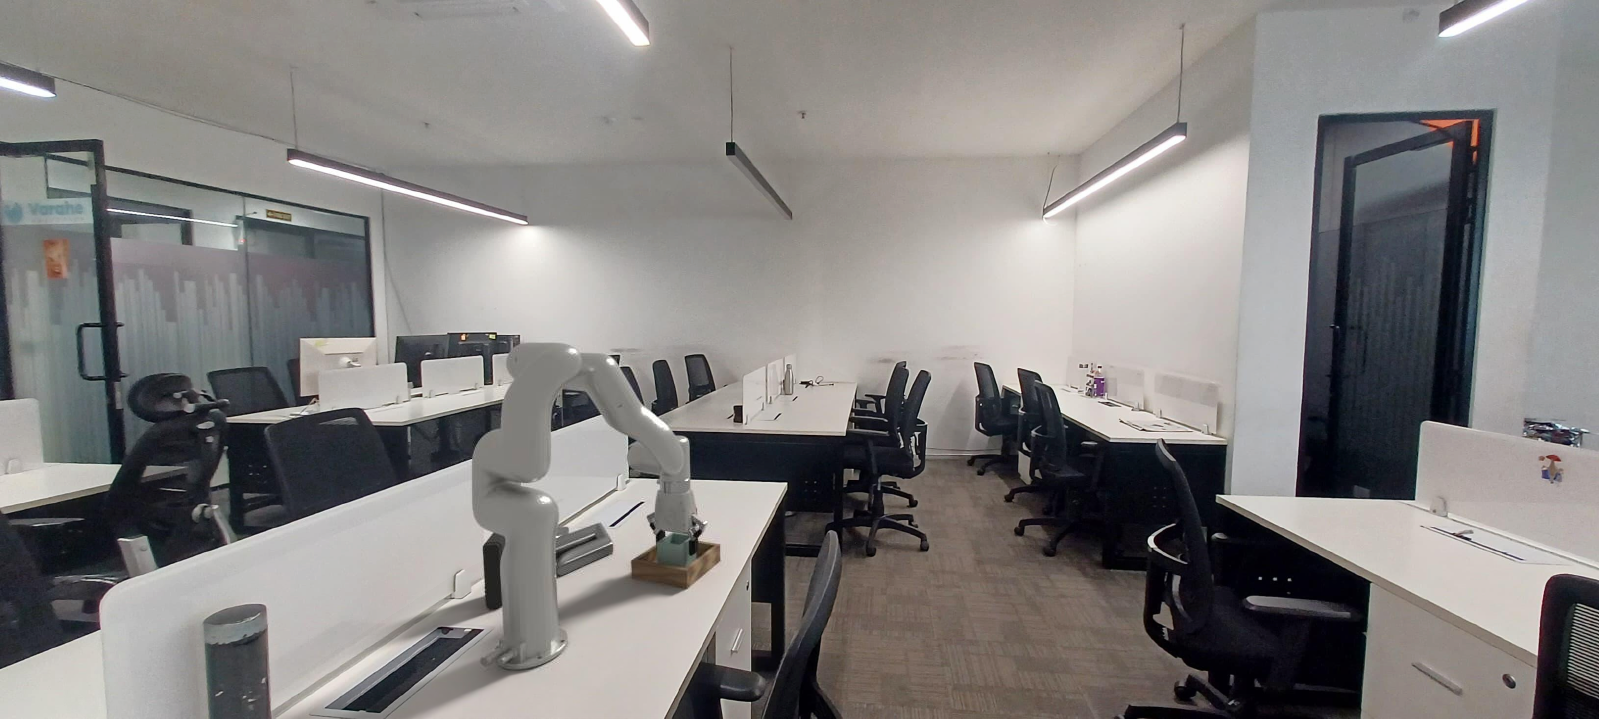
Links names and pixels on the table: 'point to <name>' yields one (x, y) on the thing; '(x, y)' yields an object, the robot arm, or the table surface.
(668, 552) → the small crate
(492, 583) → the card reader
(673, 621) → the table surface
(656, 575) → the walnut crate
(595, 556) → the emblem
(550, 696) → the table surface
